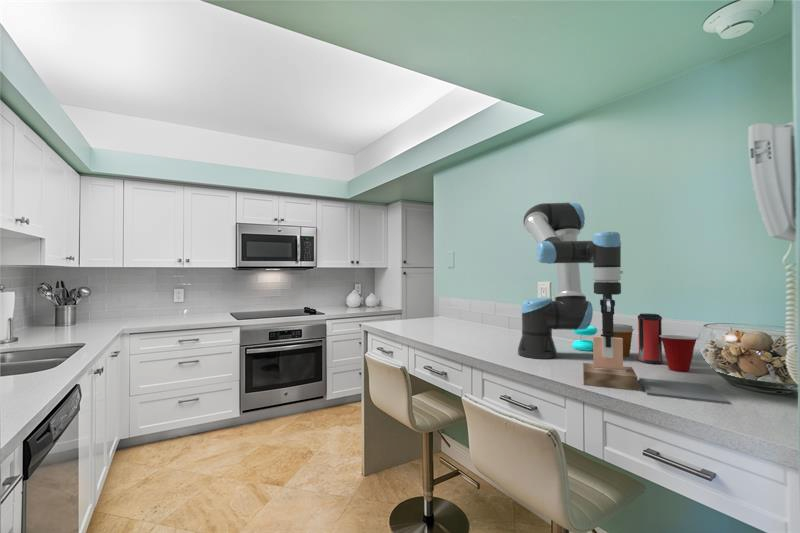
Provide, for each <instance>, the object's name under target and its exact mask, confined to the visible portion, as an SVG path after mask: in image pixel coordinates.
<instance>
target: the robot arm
mask: <svg viewBox="0 0 800 533" xmlns="http://www.w3.org/2000/svg"><path fill="white" fill-rule="evenodd" d="M585 218H586V217H585V212H584V209H583V207H582V206H581V205H580V204H579V203H577V202H570V201H569V202H554V203H553V202H549V203H547V202H546V203H545V202H544V203H543V202H542V203H538V204H536V205H534V206H532V207H531V208H529V209H528V210H527V211H526V213H525V214H524V216H523V221H522V222H523V226H524V228H525V230H526V231H527V232H528V233H530V234H531V236H532V237H533V239H534V241H535V243H536V244H537V246H536V257H537V261H538V262H539V263H540V264H549V265H550V264H551V265H552V264H556V273H557V286H558V294H556V295H555V297H554V300H553V299H552V298H551V297H534V298H529V299H525V300H524V301H523V302H522V304H521V311H520V312H521V333H522V334H521V336H520V337H521V338H520V341H519V344H518V347H517V354H518V355H519V356H520V357H524V358H530V359H542V360H544V359H545V360H546V359H554V358H556V357H557V356H558V351H557V347H556V345H555V341H554V340H553V330H557V331H560V330H561V331H563V330H566V331H567V330H568V331H569V330H571V331H572V330H583V329H587V328H588V327H589V326H591V323H592V320H593V315H594V314H593V312H594V309H593V305H592V302H591V301H589V300H587V296H586V295H585V294H584V293H583V292H582V288H581V287H582V284H581V272H580V264H593V269H592V271H593V274H592V275H593V281H594V282H593V294H596V295H602V299H599V305H600V313H601V318H602V320H601V326H602V327H601V331H602V333H601V334H600V337H603V357H605V358H613V335H614V333H613V324H614V315H615V306H616V300H614V299H613V296H615V295H616V296H617V295H621V293H622V283H621V282H620V281H621V280H622V276H621V274H624V270H622V268H621V266H622V264H621V263H622V262H621V260H622V257H621V256H622V255H621V254H622V253H621V251H622V249H621V248H622V241H621V234H620V233H619V232H618V231H600V232H599V231H598V232H595V233H594V234H593V236H592V240H578V236H579V234H581V230H582V229H584V227H585V220H586V219H585Z"/></svg>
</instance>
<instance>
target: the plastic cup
mask: <svg viewBox="0 0 800 533" xmlns="http://www.w3.org/2000/svg"><path fill="white" fill-rule="evenodd" d="M659 336H660V337H661V340H662V347H663V350H664V354H665V355H664V356H665V358H666V362H667V367H668V370H671V371H672V372H678V373H679V372H680V373H688V372H690V369H691V365H692V360H693V356H694V351H695V346H696V343H697V341H698V337H696V336H689V335H673V334H662V335H659Z"/></svg>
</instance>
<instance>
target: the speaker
mask: <svg viewBox="0 0 800 533" xmlns="http://www.w3.org/2000/svg"><path fill="white" fill-rule="evenodd" d="M662 321H663V317H662V316H661V315H660V314H657V313H639V315H637V326H638V330H637V331H638V332H637V333H638V336H637V338H638V357H637V360H638V361H639V362H641V363H644V364H649V363H650V365H661V364H663V343H662V340H661V337H660V336H659V335H663V332H662V328H663V327H662Z"/></svg>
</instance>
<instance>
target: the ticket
mask: <svg viewBox="0 0 800 533" xmlns="http://www.w3.org/2000/svg"><path fill="white" fill-rule="evenodd" d="M592 337H593V339H592V341H593V351H592V352H593V364H594V368H601V369H612V370H623V366H624V357H623V338H613V358H605V357H603V337H602V336H595V335H592Z"/></svg>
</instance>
